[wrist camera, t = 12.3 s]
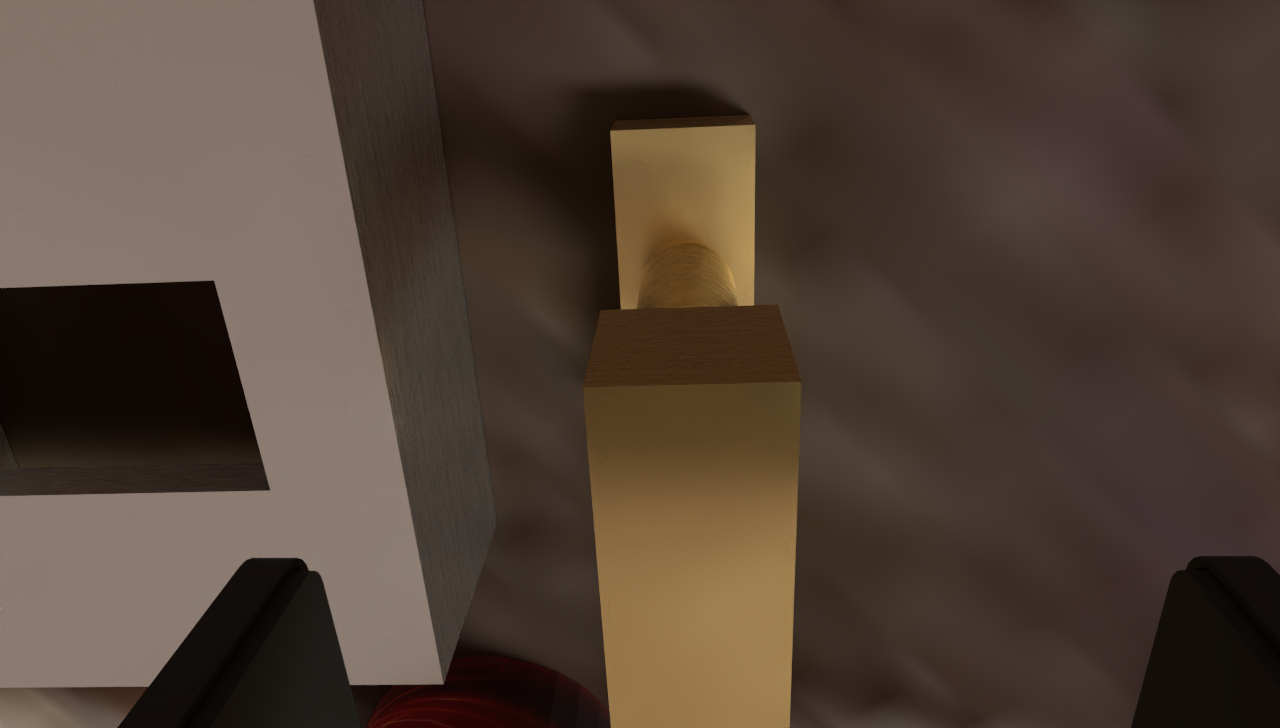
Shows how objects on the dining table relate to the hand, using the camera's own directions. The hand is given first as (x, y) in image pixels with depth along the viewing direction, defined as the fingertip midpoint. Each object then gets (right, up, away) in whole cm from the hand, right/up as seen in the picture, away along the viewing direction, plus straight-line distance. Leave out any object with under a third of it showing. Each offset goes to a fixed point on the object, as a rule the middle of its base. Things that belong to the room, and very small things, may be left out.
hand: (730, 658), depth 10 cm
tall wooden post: (0, +6, +14) cm, 15 cm away
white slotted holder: (-14, +5, +14) cm, 21 cm away
